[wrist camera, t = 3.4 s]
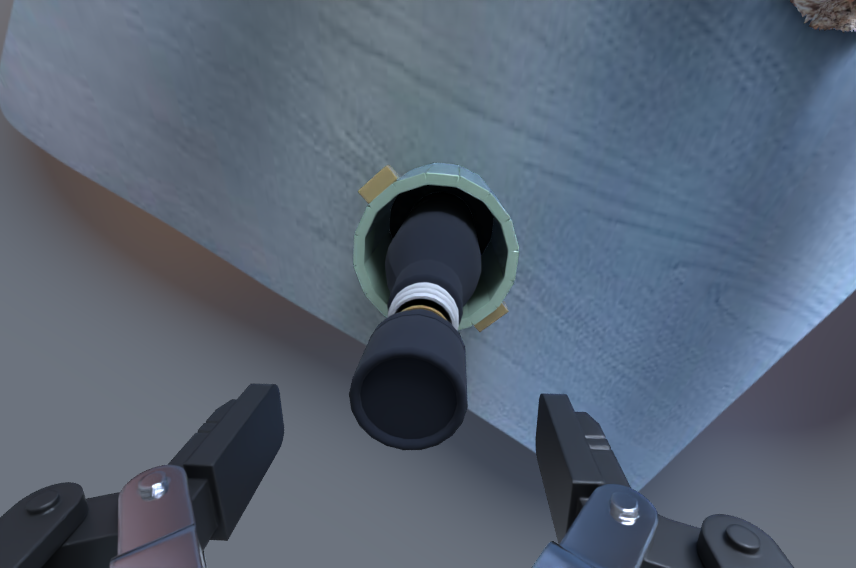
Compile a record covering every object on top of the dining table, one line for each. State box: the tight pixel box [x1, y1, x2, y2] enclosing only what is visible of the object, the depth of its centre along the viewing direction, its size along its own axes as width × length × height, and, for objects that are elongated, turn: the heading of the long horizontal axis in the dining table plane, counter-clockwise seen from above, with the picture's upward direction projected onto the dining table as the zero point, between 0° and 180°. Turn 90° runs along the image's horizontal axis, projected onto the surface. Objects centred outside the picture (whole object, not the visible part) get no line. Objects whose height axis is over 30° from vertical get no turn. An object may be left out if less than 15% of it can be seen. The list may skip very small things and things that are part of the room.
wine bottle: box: [349, 192, 481, 450], centre depth 28 cm, size 6×6×30 cm
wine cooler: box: [353, 162, 519, 332], centre depth 36 cm, size 12×14×12 cm
